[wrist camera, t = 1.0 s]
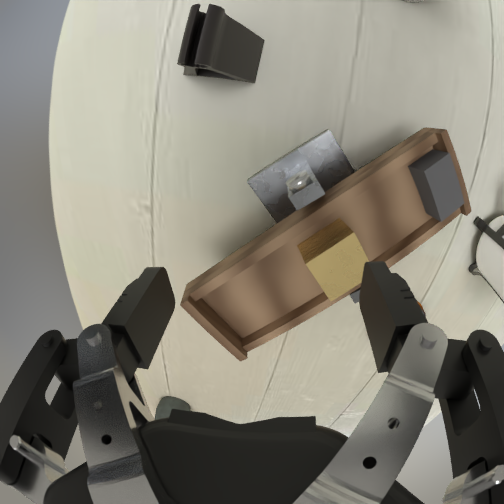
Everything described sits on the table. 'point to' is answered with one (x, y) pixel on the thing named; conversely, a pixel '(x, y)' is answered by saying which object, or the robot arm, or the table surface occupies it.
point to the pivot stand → (302, 178)
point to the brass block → (334, 258)
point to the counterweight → (437, 184)
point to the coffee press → (491, 254)
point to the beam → (304, 226)
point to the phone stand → (219, 46)
